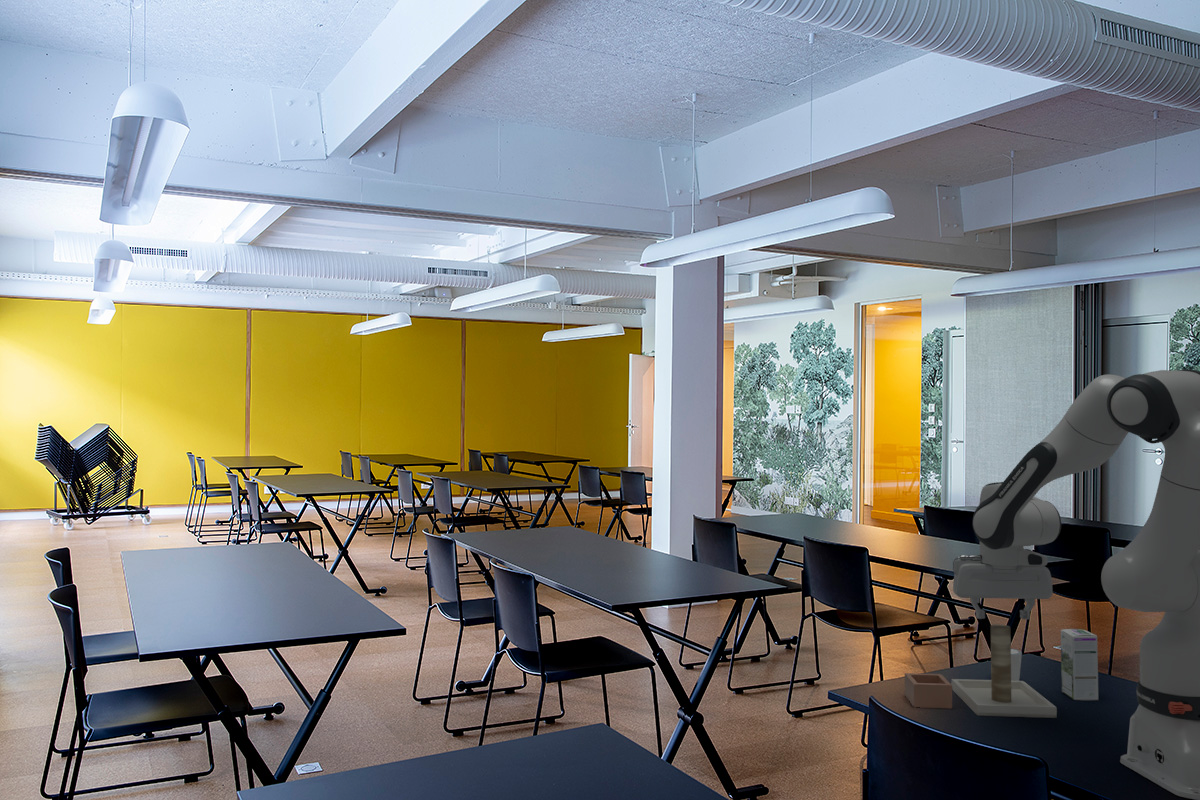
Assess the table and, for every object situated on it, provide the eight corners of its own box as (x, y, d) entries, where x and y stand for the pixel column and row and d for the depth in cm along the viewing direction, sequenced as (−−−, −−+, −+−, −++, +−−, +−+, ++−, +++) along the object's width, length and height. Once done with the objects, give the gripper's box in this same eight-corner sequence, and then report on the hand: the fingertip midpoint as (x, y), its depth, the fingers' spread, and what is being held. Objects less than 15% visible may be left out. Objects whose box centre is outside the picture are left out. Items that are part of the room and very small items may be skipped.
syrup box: (1099, 700, 198) (1099, 635, 198) (1072, 700, 198) (1072, 634, 198) (1086, 692, 203) (1085, 628, 203) (1059, 692, 203) (1059, 628, 204)
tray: (1056, 717, 187) (1056, 707, 187) (977, 715, 188) (977, 705, 188) (1023, 690, 204) (1023, 680, 204) (951, 688, 206) (951, 679, 206)
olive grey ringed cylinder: (1014, 702, 194) (1013, 628, 194) (995, 702, 194) (994, 628, 195) (1007, 697, 198) (1006, 624, 198) (988, 696, 198) (987, 624, 199)
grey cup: (1025, 685, 208) (1025, 655, 209) (994, 683, 210) (994, 653, 210) (1017, 676, 215) (1017, 647, 215) (987, 674, 217) (987, 645, 217)
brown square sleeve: (952, 708, 192) (952, 685, 192) (914, 707, 193) (913, 684, 193) (941, 696, 200) (941, 674, 200) (904, 695, 201) (904, 673, 201)
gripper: (957, 556, 194) (958, 620, 194) (1055, 557, 192) (1056, 622, 192) (948, 552, 201) (949, 614, 200) (1043, 553, 199) (1044, 616, 198)
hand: (1002, 618), depth 196 cm, fingers open, 8 cm apart
